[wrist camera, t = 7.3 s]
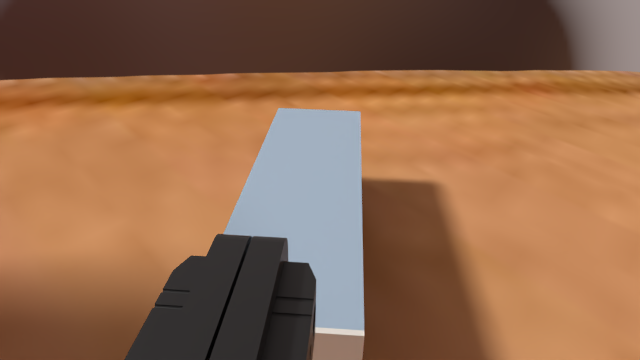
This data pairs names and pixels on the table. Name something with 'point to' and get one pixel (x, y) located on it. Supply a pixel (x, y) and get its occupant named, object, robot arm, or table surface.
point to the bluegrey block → (314, 215)
